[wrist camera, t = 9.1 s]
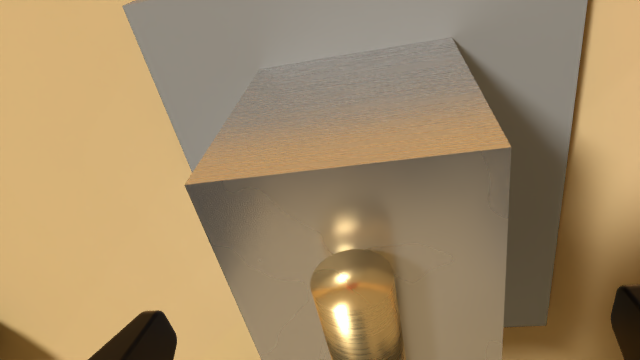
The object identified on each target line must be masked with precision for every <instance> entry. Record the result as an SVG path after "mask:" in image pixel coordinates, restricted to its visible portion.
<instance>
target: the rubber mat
mask: <svg viewBox="0 0 640 360" xmlns="http://www.w3.org/2000/svg"><path fill="white" fill-rule="evenodd" d="M587 2H588V0H137V1H132V2H130V3H128V4H126V5H123V9H124V11H125V14H126V16H127V18H128V21H129V23H130V25H131V28H132V30H133V33H134V35H135V37H136V40H137V42H138V45H139V47H140V49H141V52H142V54H143V56H144V59H145V61H146V64H147V66H148V68H149V71H150V73H151V76H152V78H153V80H154V83H155V85H156V87H157V90H158V92H159V95H160V97H161V99H162V102H163V104H164V107H165V109H166V111H167V114H168V116H169V118H170V121H171V123H172V126H173V128H174V130H175V133H176V135H177V138H178V140H179V142H180V145H181V147H182V149H183V152H184V154H185V157H186V159H187V161H188V164H189V166H190V168H191V171H192V173H193V171H194V169H195V168H196V166H197V165H198V163H199V162H200V160H201V159H202V157H203V156H204V154H205V152H206V151H207V149H208V148H209V146H210V145H211V143H212V142H213V140H214V139H215V137H216V135H217V134H218V132H219V131H220V129H221V128H222V126H223V125H224V123H225V121H226V120H227V118H228V117H229V115H230V114H231V112H232V111H233V109H234V108H235V106H236V104H237V103H238V101H239V100H240V98H241V97H242V95H243V94H244V92H245V91H246V89H247V87H248V86H249V84H250V83H251V81H252V80H253V78H254V77H255V75H256V74H257V72H258V70H259V69H262V68H268V67H274V66H280V65H286V64H292V63H298V62H304V61H310V60H317V59H323V58H329V57H335V56H341V55H347V54H353V53H359V52H365V51H371V50H377V49H383V48H389V47H395V46H401V45H407V44H413V43H419V42H425V41H431V40H437V39H443V38H449V37H452V39H453V40H454V42H455V44H456V46H457V48H458V50H459V52H460V53H461V55H462V57H463V59H464V61H465V63H466V64H467V66H468V68H469V70H470V72H471V74H472V75H473V77H474V79H475V81H476V83H477V85H478V87H479V88H480V90H481V92H482V94H483V96H484V98H485V99H486V101H487V103H488V105H489V107H490V109H491V111H492V112H493V114H494V116H495V118H496V120H497V122H498V123H499V125H500V127H501V129H502V131H503V133H504V134H505V136H506V138H507V140H508V142H509V144H510V146H511V166H510V189H509V211H508V234H507V256H506V279H505V301H504V324H503V327H523V326H546V324H547V316H548V308H549V300H550V292H551V284H552V276H553V269H554V261H555V253H556V245H557V237H558V229H559V222H560V214H561V206H562V198H563V190H564V182H565V174H566V167H567V159H568V151H569V143H570V135H571V127H572V119H573V112H574V104H575V96H576V88H577V80H578V72H579V64H580V57H581V49H582V41H583V33H584V25H585V17H586V10H587Z"/></svg>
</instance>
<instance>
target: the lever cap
mask: <svg viewBox="0 0 640 360" xmlns="http://www.w3.org/2000/svg"><path fill="white" fill-rule="evenodd" d="M510 166H511V146H510V144H509V142H508V140H507V138H506V136H505V134H504V133H503V131H502V129H501V127H500V125H499V123H498V122H497V120H496V118H495V116H494V114H493V112H492V111H491V109H490V107H489V105H488V103H487V101H486V99H485V98H484V96H483V94H482V92H481V90H480V88H479V87H478V85H477V83H476V81H475V79H474V77H473V75H472V74H471V72H470V70H469V68H468V66H467V64H466V63H465V61H464V59H463V57H462V55H461V53H460V52H459V50H458V48H457V46H456V44H455V42H454V40H453V39H452V37H449V38H443V39H437V40H431V41H425V42H419V43H413V44H407V45H401V46H395V47H389V48H383V49H377V50H371V51H365V52H359V53H353V54H347V55H341V56H335V57H329V58H323V59H317V60H310V61H304V62H298V63H292V64H286V65H280V66H274V67H268V68H262V69H259V70H258V72H257V74H256V75H255V77H254V78H253V80H252V81H251V83H250V84H249V86H248V87H247V89H246V91H245V92H244V94H243V95H242V97H241V98H240V100H239V101H238V103H237V104H236V106H235V108H234V109H233V111H232V112H231V114H230V115H229V117H228V118H227V120H226V121H225V123H224V125H223V126H222V128H221V129H220V131H219V132H218V134H217V135H216V137H215V139H214V140H213V142H212V143H211V145H210V146H209V148H208V149H207V151H206V152H205V154H204V156H203V157H202V159H201V160H200V162H199V163H198V165H197V166H196V168H195V169H194V171H193V173H192V174H191V176H190V177H189V179H188V180H187V182H186V183H185V187H186V189H187V192H188V194H189V196H190V198H191V201H192V203H193V205H194V208H195V210H196V212H197V214H198V217H199V219H200V221H201V223H202V226H203V228H204V230H205V233H206V235H207V237H208V239H209V242H210V244H211V246H212V248H213V251H214V253H215V255H216V258H217V260H218V262H219V264H220V267H221V269H222V271H223V273H224V276H225V278H226V280H227V282H228V285H229V287H230V289H231V292H232V294H233V296H234V298H235V301H236V303H237V305H238V307H239V310H240V312H241V314H242V317H243V319H244V321H245V323H246V326H247V328H248V330H249V332H250V335H251V337H252V339H253V342H254V344H255V346H256V348H257V351H258V353H259V355H260V357H261V360H502V346H503V324H504V301H505V279H506V256H507V234H508V211H509V189H510Z"/></svg>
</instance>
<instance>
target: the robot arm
mask: <svg viewBox="0 0 640 360" xmlns="http://www.w3.org/2000/svg"><path fill="white" fill-rule="evenodd" d="M611 324H612V328H613V331H614V333H615V336H616V339H617V341H618V344H619V347H620V349H621V352H622V355H623V357H624V360H640V284H636V285H622V286H620V287H619V288H618V290H617V292H616V296H615V301H614V305H613V309H612V313H611ZM176 345H177V337H176V333H175V331H174V330H173V328H172V326H171V324H170V323H169V321H168V319H167V318H166V316H165V314H164V313H163V312H162V311H145V312H142V313H141V314H139V315H138V316H137V317H136V318H135V319H134V320H132V321H131V322H130V323H129V324H128V325H127V326H126V327H124V328H123V329H122V330H121V331H120V332H119V333H118V334H117V335H115V336H114V337H113V338H112V339H111V340H110V341H109V342H108V343H106V344H105V345H104V346H103V347H102V348H101V349H100V350H99V351H97V352H96V353H95V354H94V355H93V356H92V357H91V358H89V359H88V360H173V359H174V354H175V350H176Z"/></svg>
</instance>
